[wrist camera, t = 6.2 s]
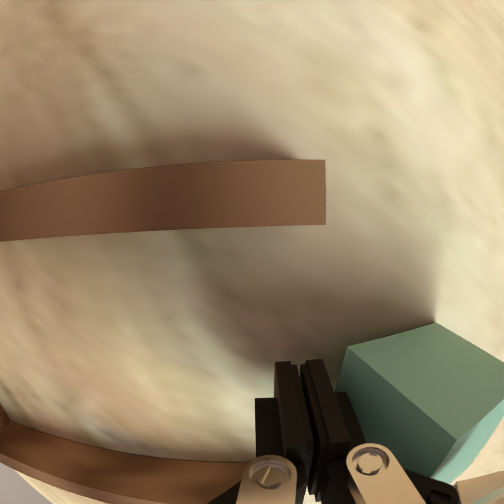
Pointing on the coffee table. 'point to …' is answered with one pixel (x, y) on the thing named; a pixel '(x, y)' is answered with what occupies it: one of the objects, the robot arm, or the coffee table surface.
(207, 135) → the coffee table surface
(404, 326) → the coffee table surface
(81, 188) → the frame
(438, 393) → the teal block
